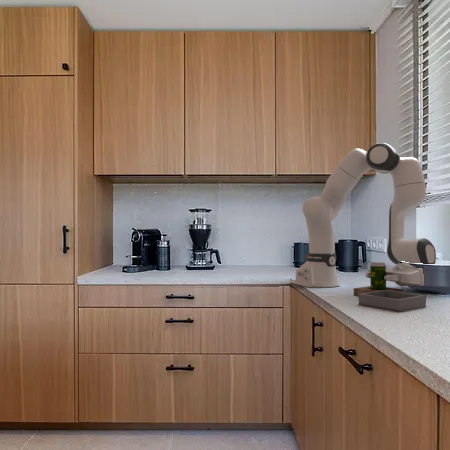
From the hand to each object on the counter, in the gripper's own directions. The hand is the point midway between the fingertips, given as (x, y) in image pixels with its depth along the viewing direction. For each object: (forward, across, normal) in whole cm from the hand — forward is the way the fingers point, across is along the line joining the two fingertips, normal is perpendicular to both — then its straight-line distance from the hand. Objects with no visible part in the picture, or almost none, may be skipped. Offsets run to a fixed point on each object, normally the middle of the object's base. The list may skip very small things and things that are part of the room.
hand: (376, 276), depth 136 cm
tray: (+10, +16, +7) cm, 20 cm away
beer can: (-1, 0, +7) cm, 7 cm away
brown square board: (-1, 0, +7) cm, 7 cm away
